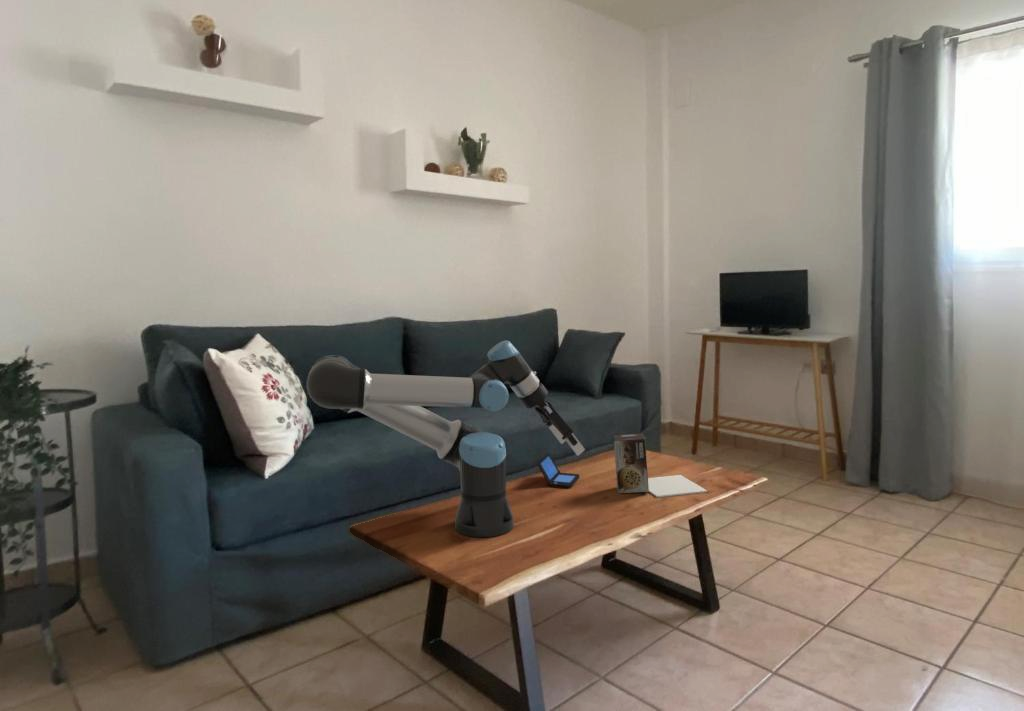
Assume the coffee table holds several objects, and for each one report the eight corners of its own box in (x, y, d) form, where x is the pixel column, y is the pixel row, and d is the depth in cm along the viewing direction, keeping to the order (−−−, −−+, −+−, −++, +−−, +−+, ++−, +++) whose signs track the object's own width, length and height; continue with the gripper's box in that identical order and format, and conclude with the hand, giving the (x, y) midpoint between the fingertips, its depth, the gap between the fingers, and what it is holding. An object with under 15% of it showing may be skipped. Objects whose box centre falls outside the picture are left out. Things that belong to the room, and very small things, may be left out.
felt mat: (656, 497, 192) (656, 495, 192) (633, 481, 207) (633, 479, 207) (707, 492, 196) (707, 490, 195) (680, 476, 211) (680, 474, 211)
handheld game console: (571, 489, 201) (570, 465, 200) (536, 486, 205) (536, 463, 204) (580, 477, 213) (580, 454, 212) (548, 474, 216) (547, 452, 215)
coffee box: (646, 485, 201) (644, 433, 199) (649, 492, 195) (646, 438, 193) (616, 486, 202) (613, 434, 200) (617, 493, 196) (614, 440, 194)
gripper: (554, 388, 174) (599, 448, 179) (527, 375, 198) (568, 428, 203) (532, 406, 173) (577, 466, 178) (508, 390, 197) (549, 444, 202)
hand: (572, 446), depth 190 cm, fingers open, 13 cm apart
